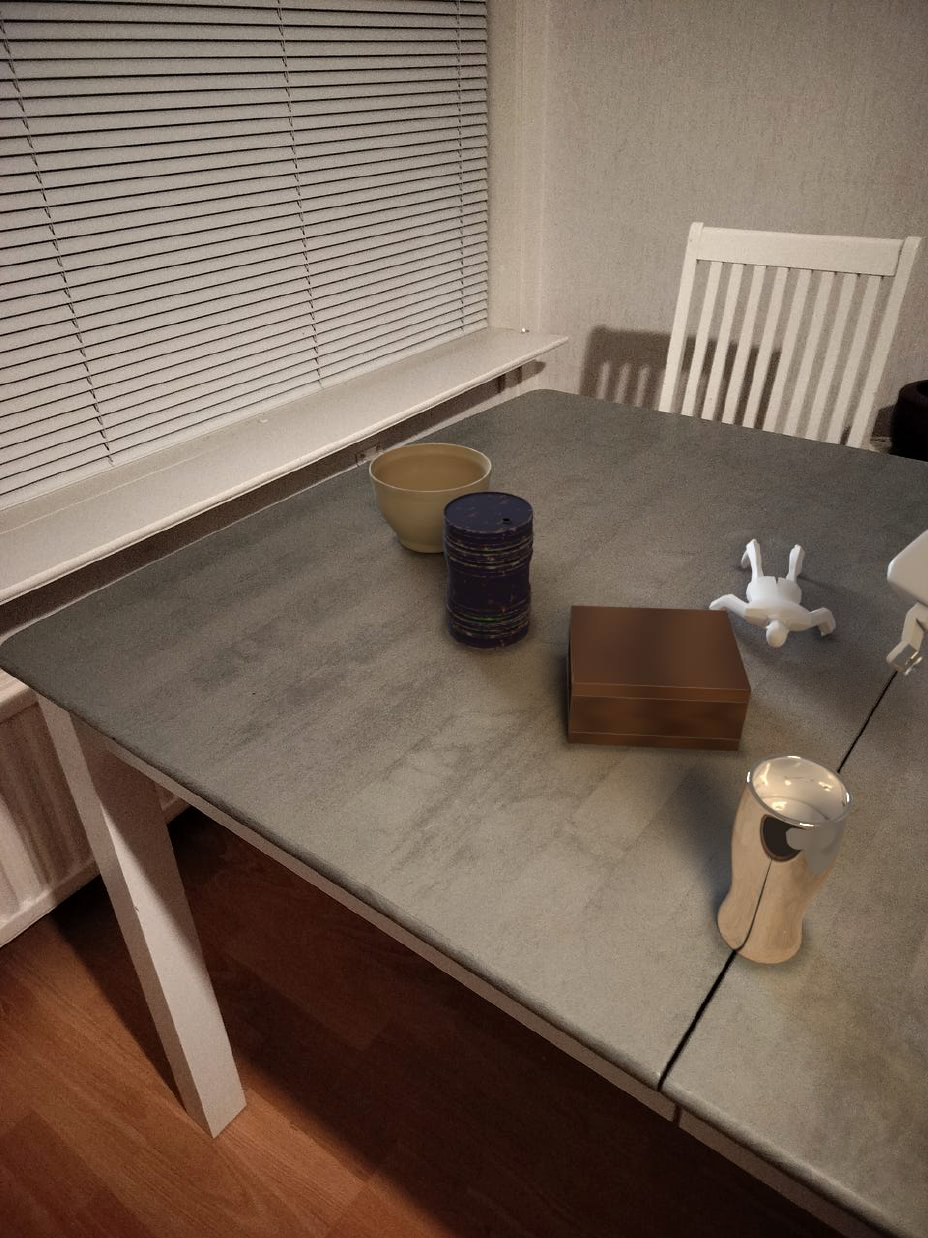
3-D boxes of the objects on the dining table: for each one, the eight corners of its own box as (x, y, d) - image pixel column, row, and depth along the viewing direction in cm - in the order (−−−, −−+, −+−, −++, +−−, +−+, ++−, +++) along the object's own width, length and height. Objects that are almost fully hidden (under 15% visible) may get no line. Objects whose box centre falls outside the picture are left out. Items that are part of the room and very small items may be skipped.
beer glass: (697, 940, 62) (729, 799, 53) (728, 876, 66) (762, 737, 58) (792, 987, 58) (842, 845, 50) (817, 916, 63) (867, 775, 55)
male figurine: (712, 577, 108) (701, 663, 86) (720, 533, 105) (710, 610, 84) (823, 593, 104) (840, 687, 83) (834, 547, 102) (854, 632, 80)
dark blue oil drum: (429, 623, 97) (423, 509, 89) (491, 593, 102) (491, 482, 94) (485, 661, 91) (484, 542, 82) (548, 627, 96) (553, 512, 87)
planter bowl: (493, 566, 108) (494, 489, 102) (370, 568, 108) (363, 492, 102) (489, 510, 121) (489, 440, 115) (380, 512, 121) (374, 442, 115)
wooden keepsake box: (715, 668, 89) (726, 610, 85) (737, 751, 78) (751, 690, 74) (566, 662, 90) (570, 605, 86) (568, 743, 80) (572, 682, 75)
